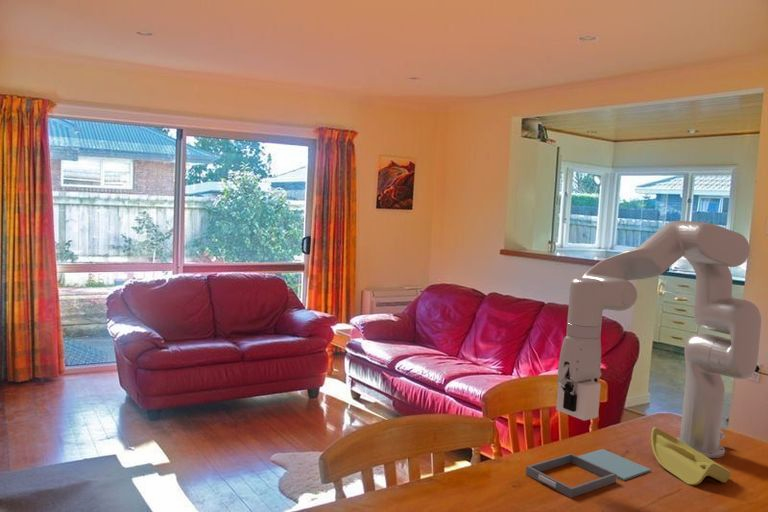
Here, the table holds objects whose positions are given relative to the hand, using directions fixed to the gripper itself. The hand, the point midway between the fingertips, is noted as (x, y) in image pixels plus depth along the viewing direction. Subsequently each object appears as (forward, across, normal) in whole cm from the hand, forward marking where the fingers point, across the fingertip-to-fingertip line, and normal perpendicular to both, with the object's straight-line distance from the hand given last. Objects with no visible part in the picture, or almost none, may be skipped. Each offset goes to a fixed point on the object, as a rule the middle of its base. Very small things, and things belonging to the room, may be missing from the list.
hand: (577, 407), depth 146 cm
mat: (+17, -16, 0) cm, 23 cm away
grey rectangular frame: (+17, 0, 0) cm, 17 cm away
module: (+2, 0, 0) cm, 2 cm away
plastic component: (+18, -31, +10) cm, 37 cm away
